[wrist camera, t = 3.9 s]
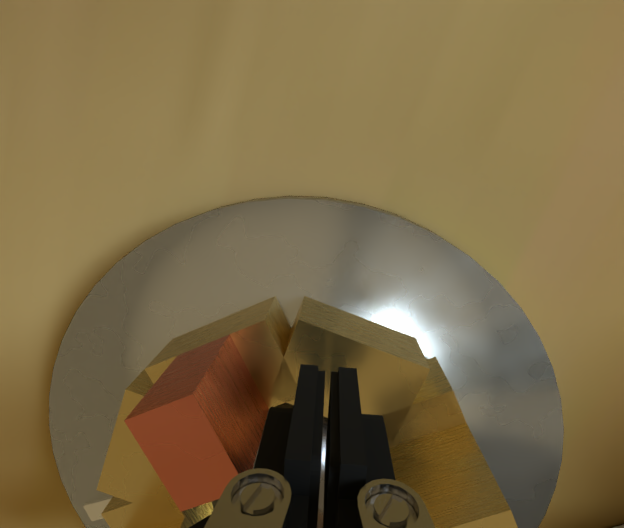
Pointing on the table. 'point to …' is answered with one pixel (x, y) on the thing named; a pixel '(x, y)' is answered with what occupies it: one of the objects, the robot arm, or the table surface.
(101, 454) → the cap plate
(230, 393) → the wooden block ring
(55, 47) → the table surface
